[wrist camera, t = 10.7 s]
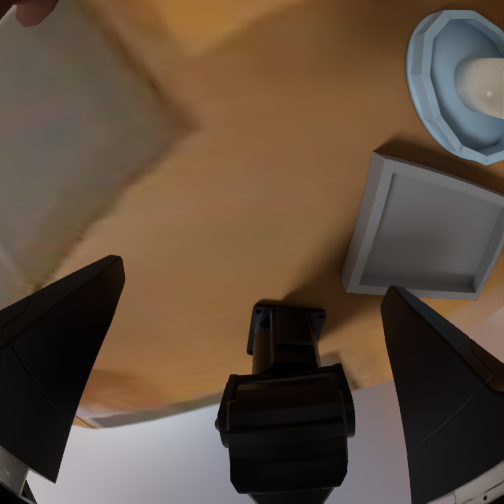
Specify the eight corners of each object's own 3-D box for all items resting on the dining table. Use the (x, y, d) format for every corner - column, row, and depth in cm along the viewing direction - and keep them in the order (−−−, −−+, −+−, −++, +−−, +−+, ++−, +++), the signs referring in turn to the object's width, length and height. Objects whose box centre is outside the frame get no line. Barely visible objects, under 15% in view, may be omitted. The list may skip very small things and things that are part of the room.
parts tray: (466, 287, 24) (476, 300, 22) (339, 276, 23) (345, 292, 21) (504, 194, 18) (518, 203, 17) (372, 151, 18) (384, 158, 16)
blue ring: (501, 175, 18) (516, 183, 16) (393, 134, 17) (406, 139, 15) (518, 53, 11) (533, 54, 10) (409, -14, 11) (422, -21, 9)
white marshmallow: (488, 120, 15) (521, 130, 12) (450, 100, 15) (484, 106, 11) (494, 72, 13) (527, 75, 9) (456, 48, 13) (489, 46, 9)
